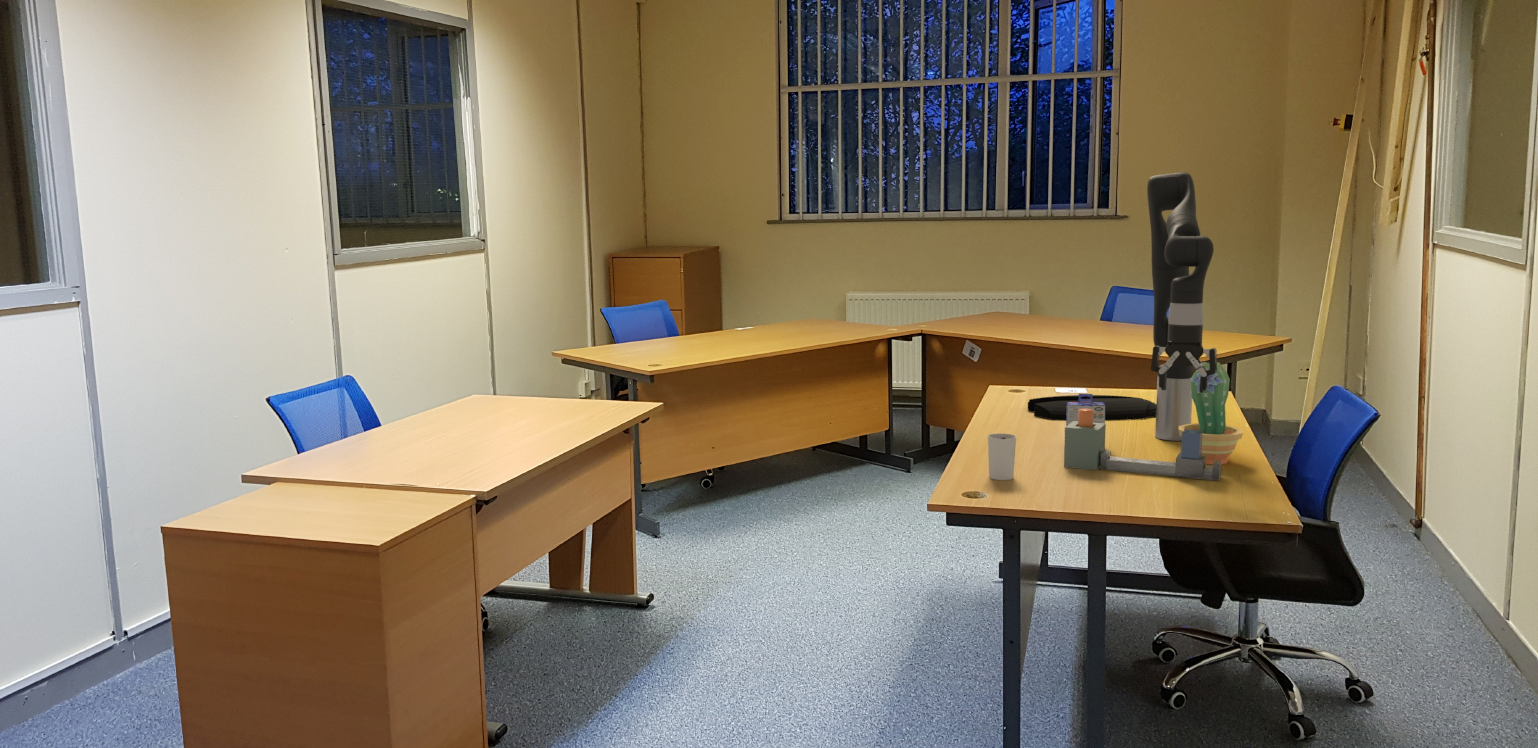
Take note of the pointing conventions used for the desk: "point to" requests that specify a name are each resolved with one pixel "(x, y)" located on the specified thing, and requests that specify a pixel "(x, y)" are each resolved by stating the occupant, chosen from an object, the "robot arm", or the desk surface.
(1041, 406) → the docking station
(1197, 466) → the carriage
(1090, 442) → the grey-green socket block
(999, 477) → the cream cup
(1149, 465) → the rail
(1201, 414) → the potted cactus
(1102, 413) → the ink cartridge box
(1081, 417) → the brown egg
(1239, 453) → the desk surface
